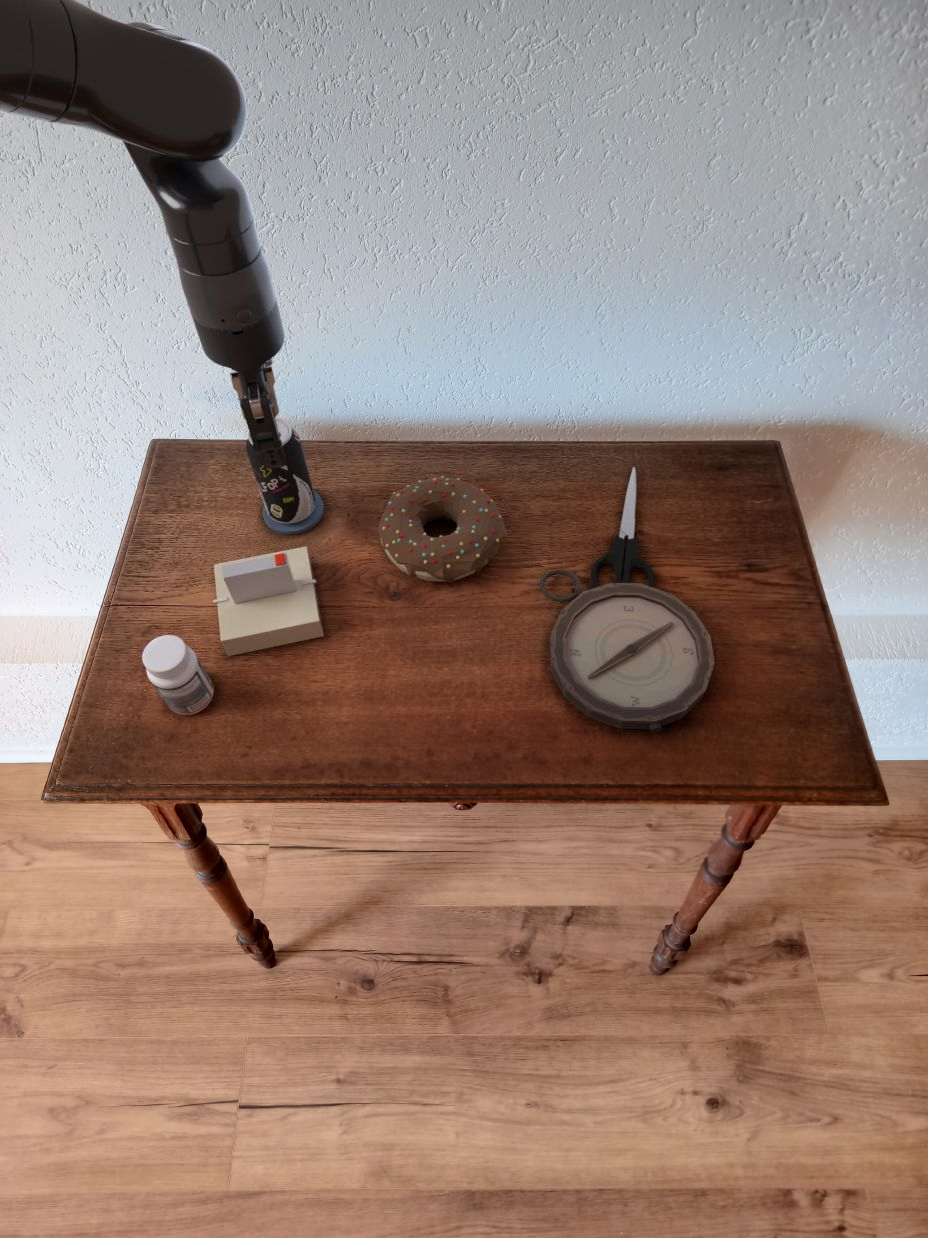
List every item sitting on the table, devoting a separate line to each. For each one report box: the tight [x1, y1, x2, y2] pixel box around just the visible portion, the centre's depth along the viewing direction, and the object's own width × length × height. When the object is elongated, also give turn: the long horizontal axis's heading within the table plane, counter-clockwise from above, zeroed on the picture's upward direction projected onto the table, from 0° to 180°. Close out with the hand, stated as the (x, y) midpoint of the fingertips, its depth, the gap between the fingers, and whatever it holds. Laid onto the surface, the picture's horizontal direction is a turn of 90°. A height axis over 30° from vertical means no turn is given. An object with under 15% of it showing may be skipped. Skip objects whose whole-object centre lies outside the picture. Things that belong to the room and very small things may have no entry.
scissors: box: [590, 466, 655, 589], centre depth 91 cm, size 7×1×20 cm
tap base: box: [212, 545, 325, 657], centre depth 85 cm, size 11×10×3 cm
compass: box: [539, 568, 716, 734], centre depth 82 cm, size 20×16×2 cm
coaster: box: [262, 489, 325, 536], centre depth 94 cm, size 7×7×1 cm
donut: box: [377, 475, 509, 584], centre depth 89 cm, size 14×14×5 cm
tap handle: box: [222, 553, 297, 603], centre depth 82 cm, size 6×2×5 cm, turn 104°
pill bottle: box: [141, 634, 215, 716], centre depth 78 cm, size 5×5×8 cm
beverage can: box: [245, 417, 316, 524], centre depth 89 cm, size 6×6×12 cm
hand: (271, 436), depth 84 cm, fingers open, 8 cm apart
